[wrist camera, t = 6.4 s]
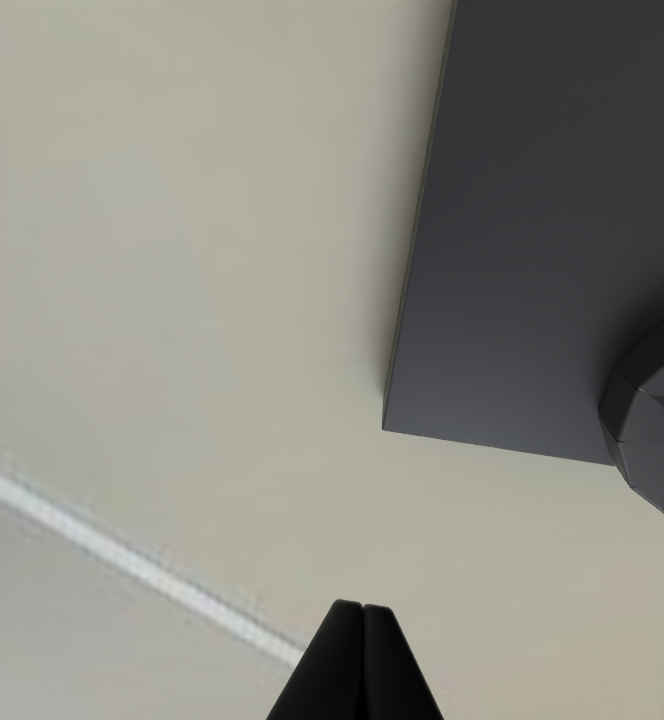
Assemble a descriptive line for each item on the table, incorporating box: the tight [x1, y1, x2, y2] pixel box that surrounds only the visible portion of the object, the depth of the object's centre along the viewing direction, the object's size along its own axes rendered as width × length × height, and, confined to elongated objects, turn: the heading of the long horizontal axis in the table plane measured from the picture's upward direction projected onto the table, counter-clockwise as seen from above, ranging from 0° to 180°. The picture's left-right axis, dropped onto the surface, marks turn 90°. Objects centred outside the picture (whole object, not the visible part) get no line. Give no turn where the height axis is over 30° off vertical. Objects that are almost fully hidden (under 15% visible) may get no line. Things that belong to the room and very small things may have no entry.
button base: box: [382, 0, 664, 513], centre depth 15 cm, size 12×12×4 cm
